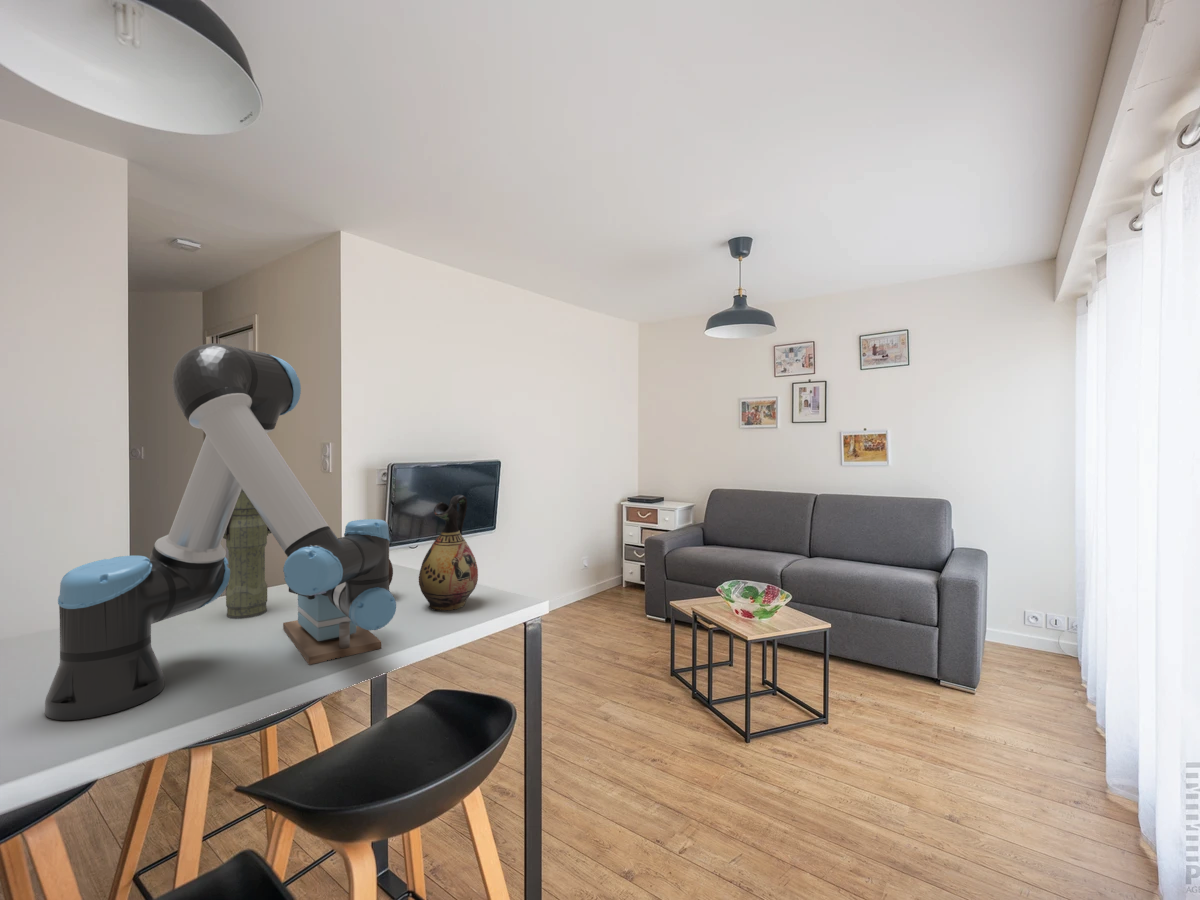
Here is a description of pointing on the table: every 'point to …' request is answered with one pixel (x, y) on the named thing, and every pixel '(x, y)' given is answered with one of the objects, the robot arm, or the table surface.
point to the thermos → (246, 561)
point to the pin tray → (331, 642)
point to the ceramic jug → (449, 561)
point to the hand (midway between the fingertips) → (325, 572)
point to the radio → (321, 618)
